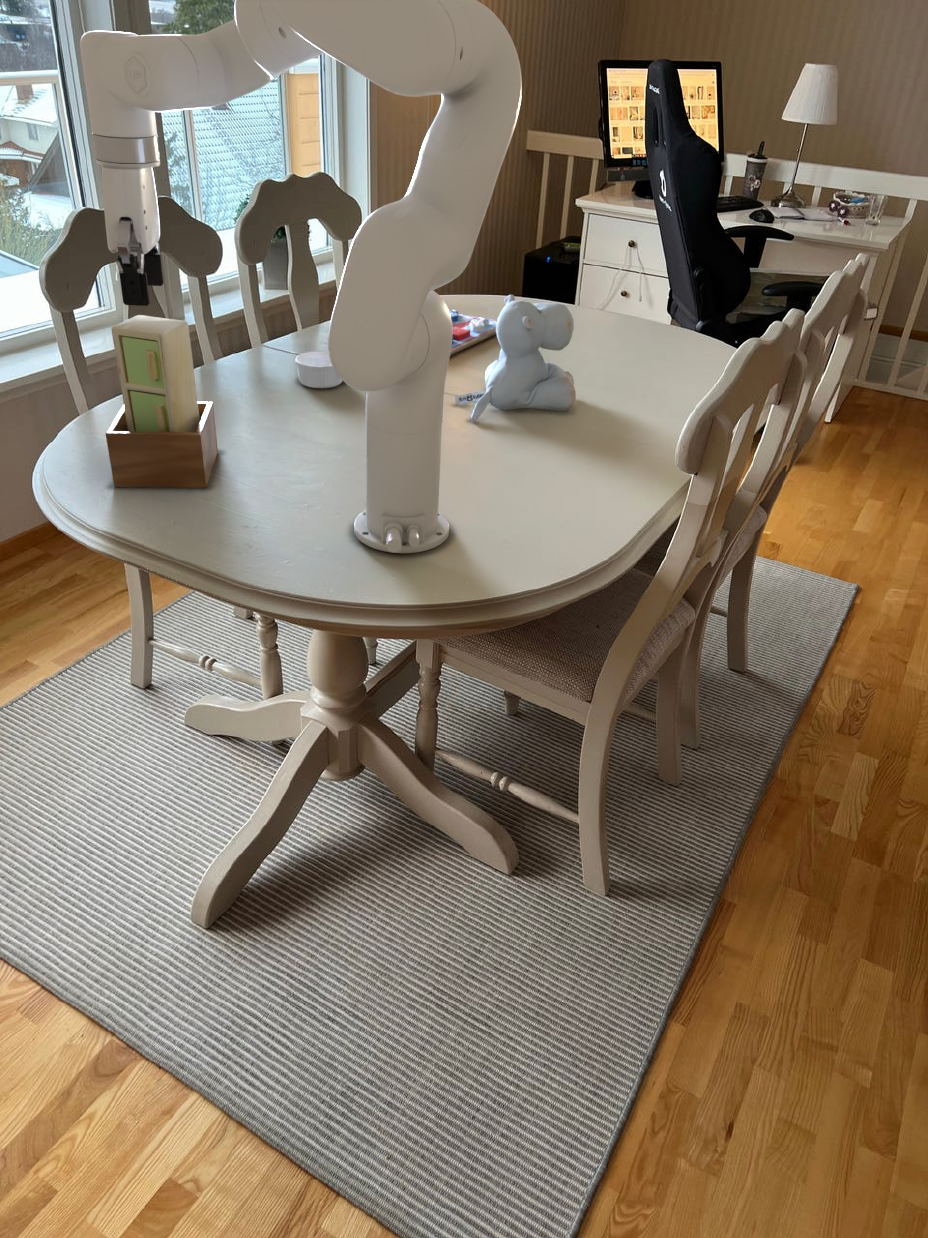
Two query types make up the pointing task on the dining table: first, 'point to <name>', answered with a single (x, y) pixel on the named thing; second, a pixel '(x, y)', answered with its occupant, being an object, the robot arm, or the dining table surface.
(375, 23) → the robot arm
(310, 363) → the ramekin
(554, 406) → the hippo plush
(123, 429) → the open wooden box
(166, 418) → the toy refrigerator
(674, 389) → the dining table surface
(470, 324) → the puzzle board
